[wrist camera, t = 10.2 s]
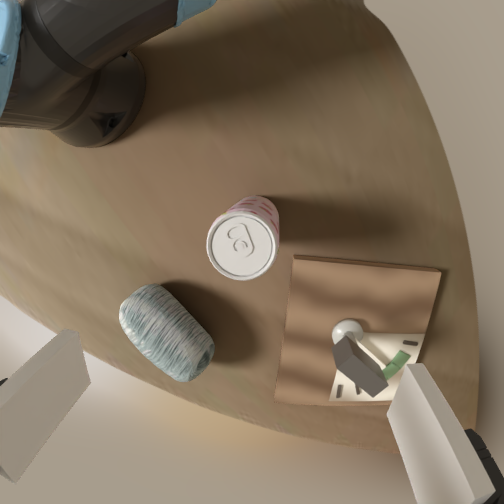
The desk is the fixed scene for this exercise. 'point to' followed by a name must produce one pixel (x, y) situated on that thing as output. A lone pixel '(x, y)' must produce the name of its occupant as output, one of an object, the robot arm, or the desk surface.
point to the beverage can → (245, 239)
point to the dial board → (360, 309)
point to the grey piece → (357, 358)
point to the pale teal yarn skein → (166, 333)
